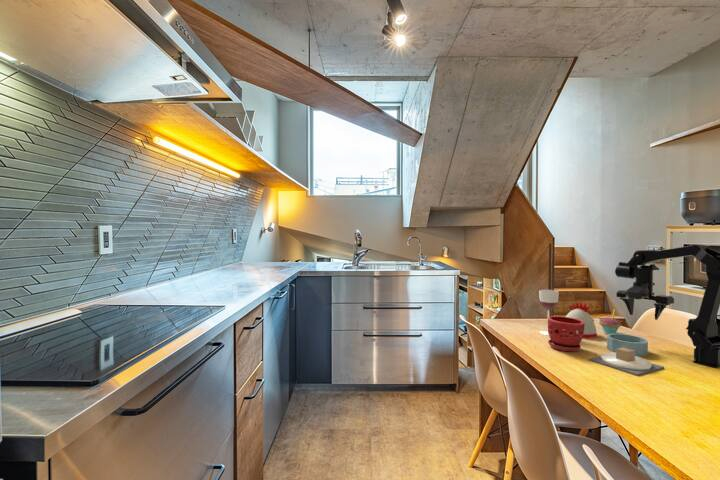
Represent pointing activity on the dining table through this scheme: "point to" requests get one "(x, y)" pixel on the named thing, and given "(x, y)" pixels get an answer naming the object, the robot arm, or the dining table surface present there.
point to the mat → (634, 372)
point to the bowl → (627, 343)
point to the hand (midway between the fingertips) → (643, 317)
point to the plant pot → (565, 333)
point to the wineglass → (548, 302)
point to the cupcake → (610, 324)
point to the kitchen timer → (582, 315)
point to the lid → (626, 359)
